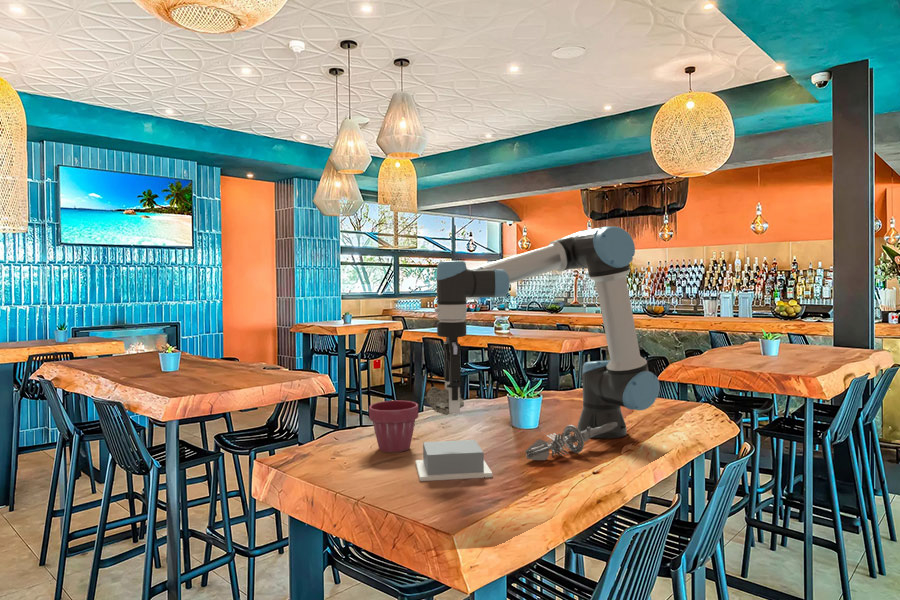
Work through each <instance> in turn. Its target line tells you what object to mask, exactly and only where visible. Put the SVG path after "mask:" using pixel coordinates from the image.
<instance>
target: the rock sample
mask: <svg viewBox="0 0 900 600" xmlns="http://www.w3.org/2000/svg"><path fill="white" fill-rule="evenodd" d="M424 399H425V400H426V403H427V404H428V405H429V406H430V407H431V409H432V410H433V411H434V412H435V413H439V414H441V415H445V416H448V415H452V414H453V413H449V390H445V389H440V388H439V387H436V386H432V387H431V388H430V389H429V390H428V392H427V393H426V395H425V396H424ZM465 405H466V404H464V400H463V398H461V397H460V409H461V408H463V407H465Z"/></svg>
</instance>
